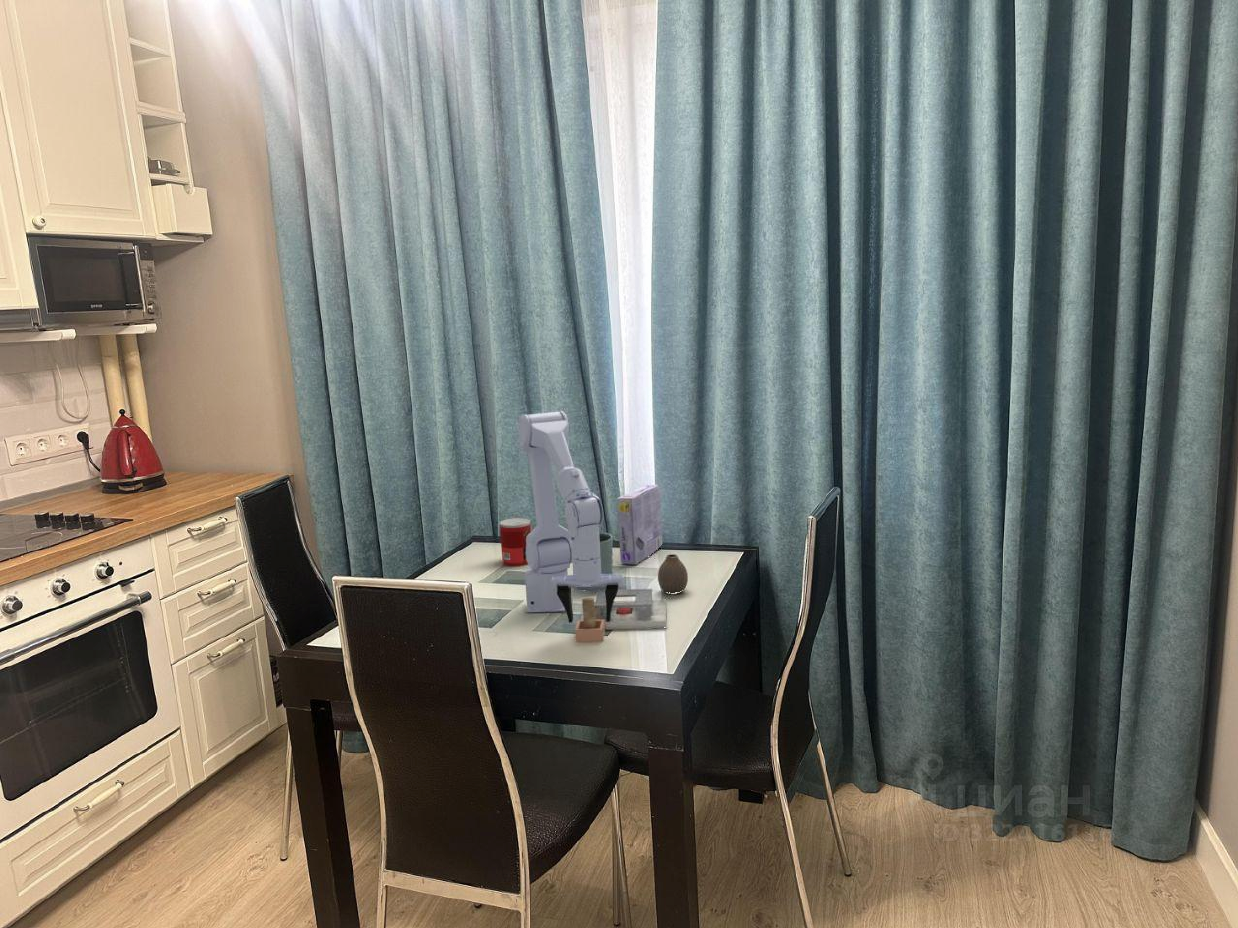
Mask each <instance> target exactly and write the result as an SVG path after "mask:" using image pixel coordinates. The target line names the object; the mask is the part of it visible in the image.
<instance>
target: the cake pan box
mask: <svg viewBox="0 0 1238 928" xmlns="http://www.w3.org/2000/svg"><path fill="white" fill-rule="evenodd" d="M661 506H662V505H661V486H660V485H659V484H646V485H642V486H641V487H639V488H637V489H635V490H631V491H630V492H627V493H625V494H623V495H621V496H619V497H617V498H616V507H617V508H616V509H617V510H616V511H617V521H618V523H617V525H618V536H619V537H618V539H619V554H620V555H619V556H620V564H623V565H630V566H637V565H638V564H640V563H641V562H642V561H644V560H646V559H648V558H649V557H648V556H650V555H651V554H652V553H653V554H654V552H655V551H656V550H657V549H658V548H659V547H660V546H661V545H662V544H664V543H663V524H662V523H663V522H662V507H661ZM656 552H657V551H656ZM656 552H655V553H656ZM651 556H652V555H651ZM651 556H650V557H651ZM647 557H648V558H647ZM645 558H646V559H645ZM639 562H640V563H639ZM636 564H637V565H636Z"/></svg>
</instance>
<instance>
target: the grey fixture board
mask: <svg viewBox="0 0 1238 928" xmlns="http://www.w3.org/2000/svg"><path fill="white" fill-rule="evenodd" d="M615 598H635V600H614V602H613V605H612V609H611V619H610V622H606V596H605V590H598V591H597V593H596V598H595V600H594V607H595V620H605V631H607V630H608V631H611V630H612V631H613V630H647V629H646V628H660V629H665V628H664V627H666V628H667V620H666V617H667V616H668V615H667V613H668V612H667V611H668V610H667V608H668V606H667V599H653V588H636V589H635V588H634V589H631V588H630V589H618V592H617V595H616V597H615ZM618 607H631V614H618ZM581 613H582V614H581V617H580V620H584V619H583V612H581Z"/></svg>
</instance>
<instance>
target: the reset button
mask: <svg viewBox="0 0 1238 928" xmlns="http://www.w3.org/2000/svg"><path fill="white" fill-rule="evenodd" d="M618 614H631V607H618Z"/></svg>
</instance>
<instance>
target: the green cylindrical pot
mask: <svg viewBox="0 0 1238 928" xmlns="http://www.w3.org/2000/svg"><path fill="white" fill-rule="evenodd" d="M599 538H600V558H601V574H610V575H614V573H613V569H614V568H613V563H614V562H613V556H614V555H613V546H614V545H613V543H614V542H613V539H614V537H613V534H611V533H608V532H600V531H599ZM577 589H579V590H580V591H583V590H585V592H598V590H606V586H601V587H577Z"/></svg>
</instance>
